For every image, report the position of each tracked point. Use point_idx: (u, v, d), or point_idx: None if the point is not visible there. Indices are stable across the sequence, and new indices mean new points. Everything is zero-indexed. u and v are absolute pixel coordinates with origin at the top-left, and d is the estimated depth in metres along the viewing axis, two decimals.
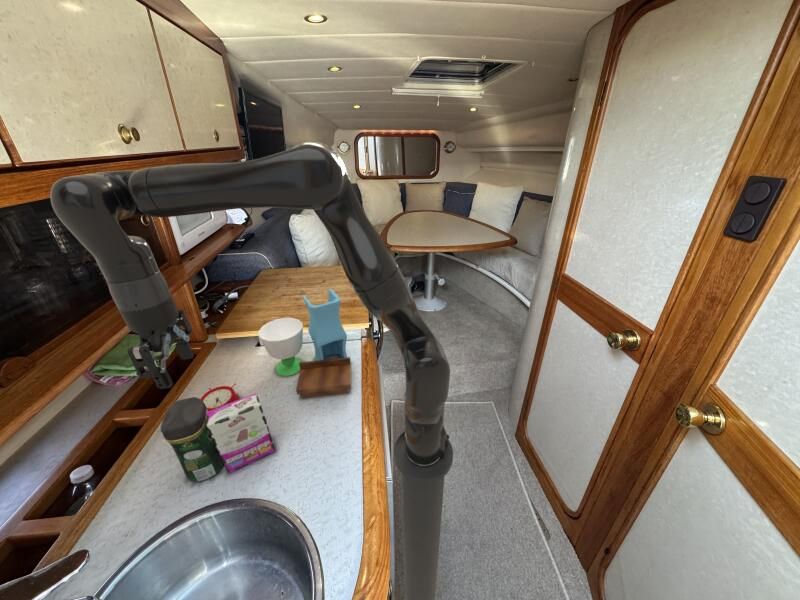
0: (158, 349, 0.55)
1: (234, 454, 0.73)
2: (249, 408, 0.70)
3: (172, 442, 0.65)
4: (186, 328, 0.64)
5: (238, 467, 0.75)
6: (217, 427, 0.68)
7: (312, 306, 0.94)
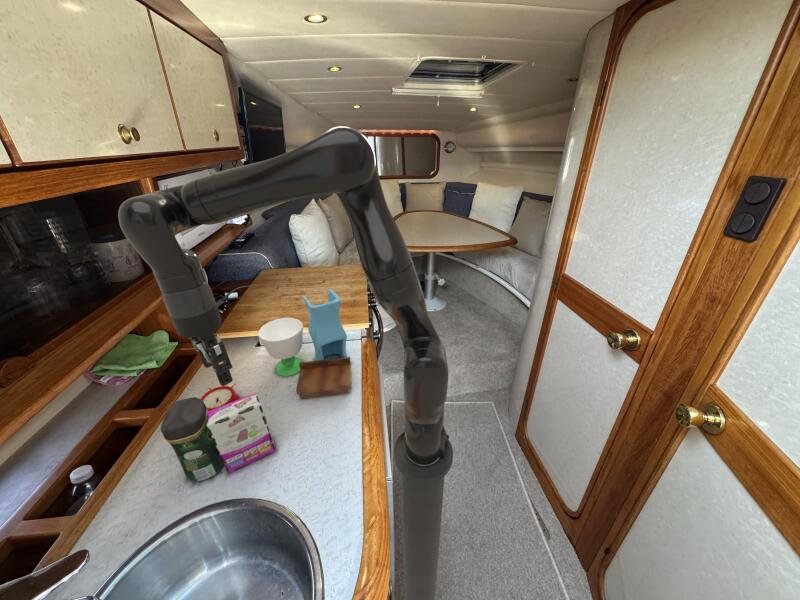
0: None
1: (234, 454, 0.73)
2: (249, 408, 0.70)
3: (172, 442, 0.65)
4: None
5: (238, 467, 0.75)
6: (217, 426, 0.68)
7: (312, 306, 0.94)
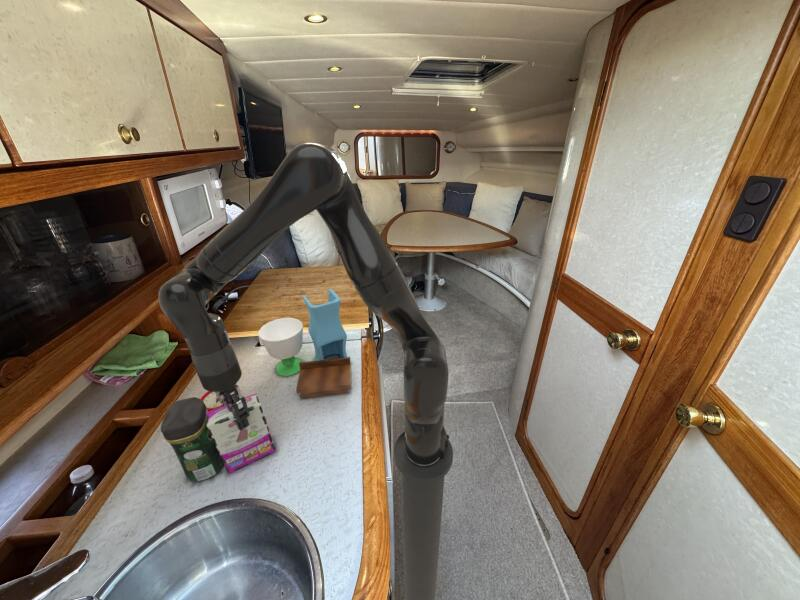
0: None
1: (234, 454, 0.73)
2: (249, 408, 0.70)
3: (172, 442, 0.65)
4: None
5: (238, 467, 0.75)
6: (217, 427, 0.68)
7: (312, 306, 0.94)
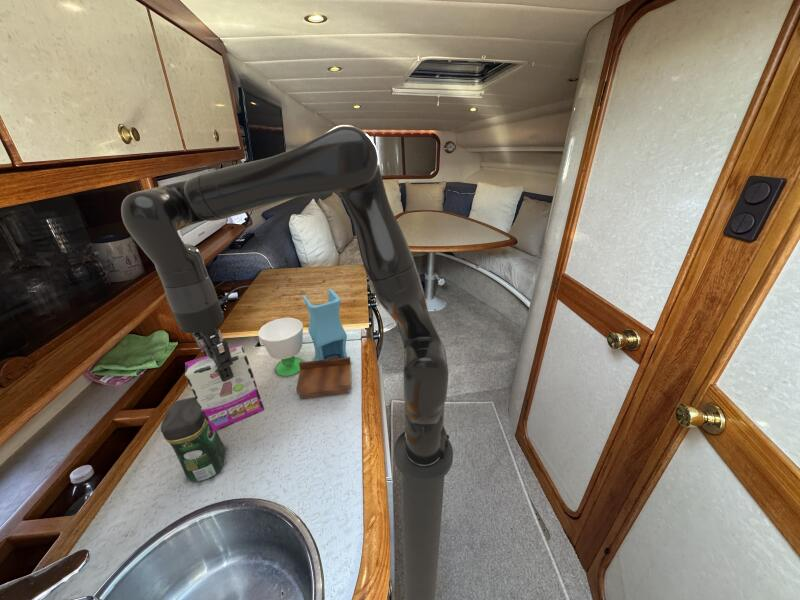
0: None
1: (218, 411, 0.66)
2: (232, 358, 0.64)
3: (172, 442, 0.65)
4: None
5: (222, 426, 0.68)
6: (197, 376, 0.61)
7: (312, 306, 0.94)
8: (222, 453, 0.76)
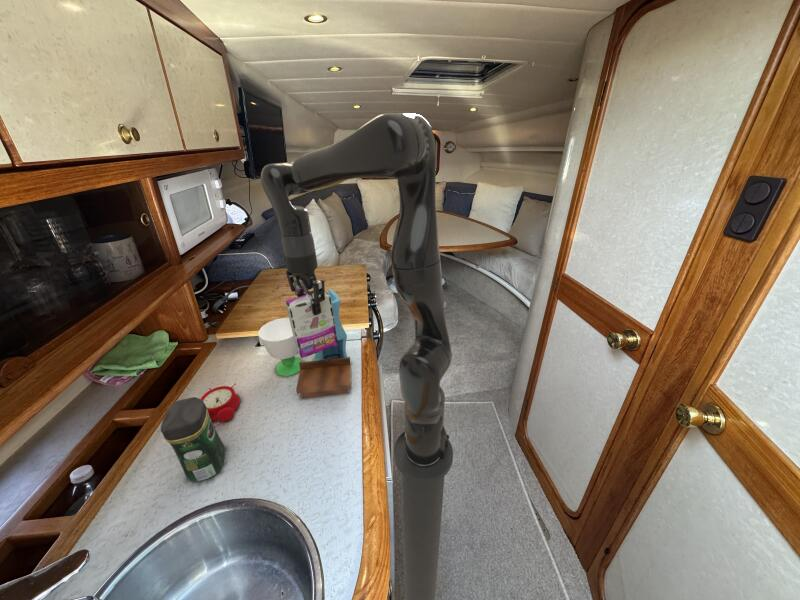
0: None
1: (307, 340, 0.85)
2: None
3: (172, 442, 0.65)
4: None
5: (308, 354, 0.87)
6: (297, 310, 0.80)
7: None
8: (222, 453, 0.76)
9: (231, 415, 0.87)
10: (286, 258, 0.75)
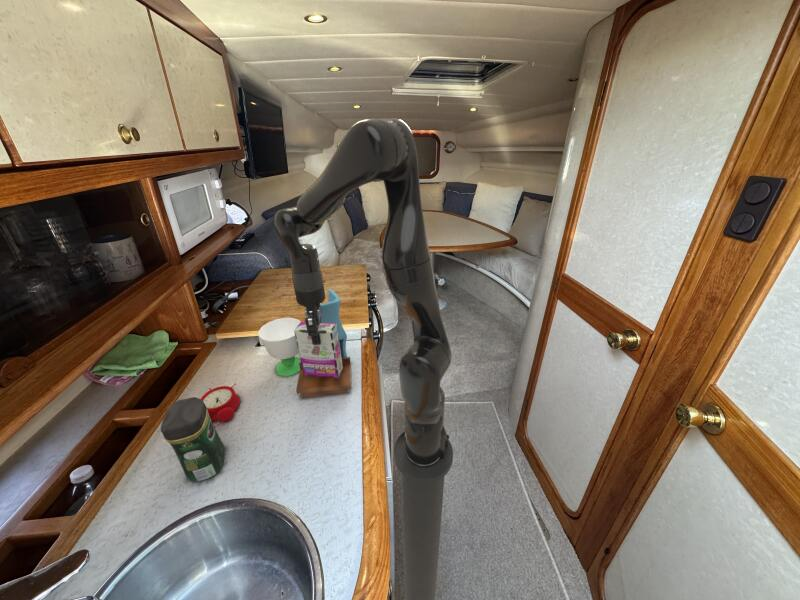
0: (315, 318, 0.84)
1: (309, 362, 0.92)
2: (323, 331, 0.86)
3: (172, 442, 0.65)
4: None
5: (310, 374, 0.94)
6: (300, 334, 0.87)
7: None
8: (222, 453, 0.76)
9: (231, 415, 0.87)
10: None
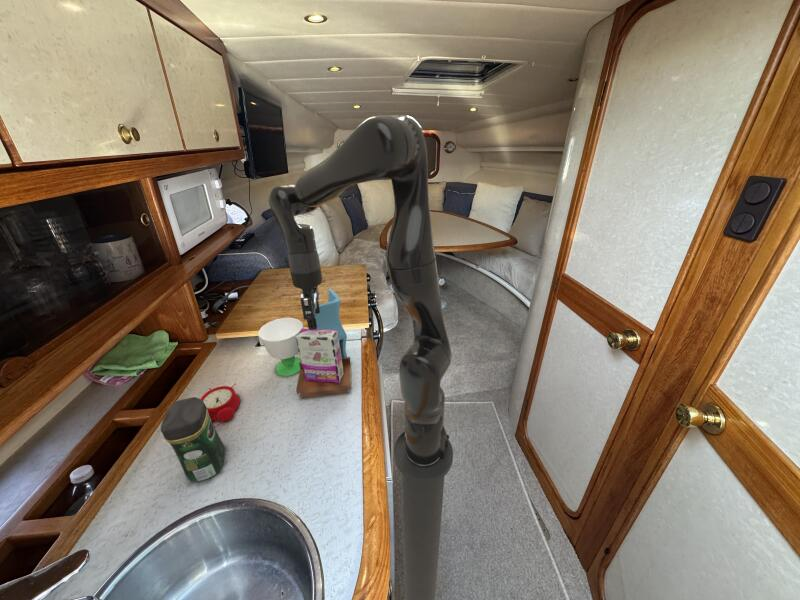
0: (311, 301, 0.81)
1: (310, 368, 0.93)
2: (324, 337, 0.87)
3: (172, 442, 0.65)
4: None
5: (311, 380, 0.95)
6: (301, 341, 0.88)
7: None
8: (222, 453, 0.76)
9: (231, 415, 0.87)
10: None
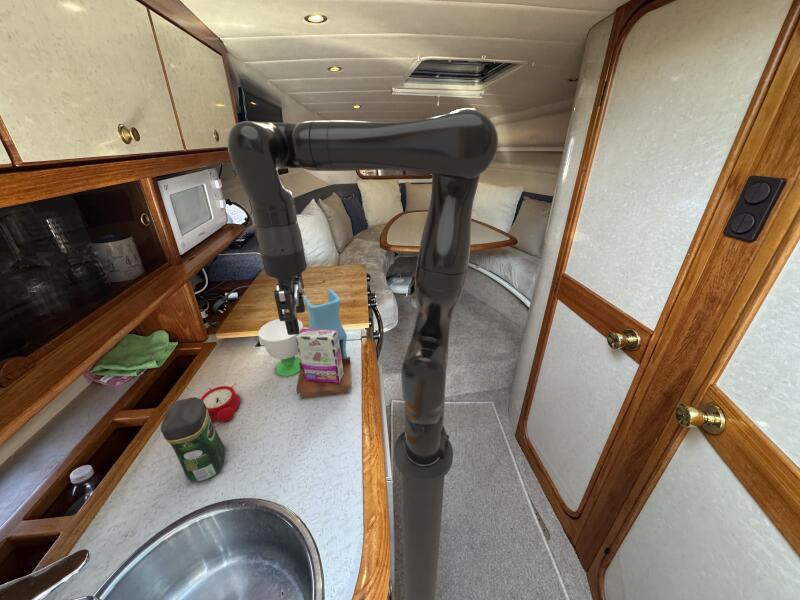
0: (291, 295, 0.59)
1: (310, 368, 0.93)
2: (324, 337, 0.87)
3: (172, 442, 0.65)
4: (301, 283, 0.67)
5: (311, 380, 0.95)
6: (301, 340, 0.88)
7: (312, 306, 0.94)
8: (222, 453, 0.76)
9: (231, 415, 0.87)
10: None
